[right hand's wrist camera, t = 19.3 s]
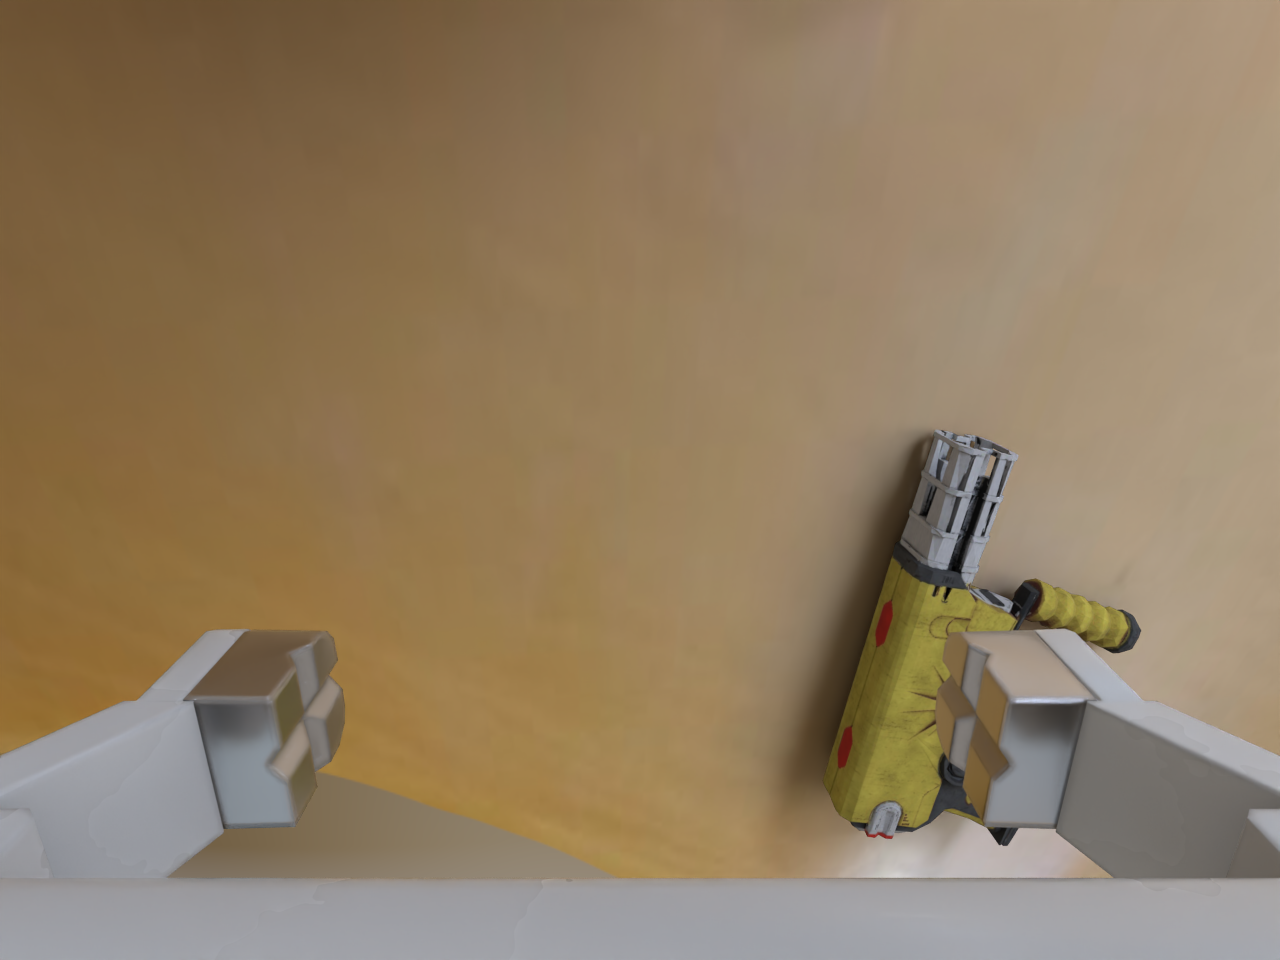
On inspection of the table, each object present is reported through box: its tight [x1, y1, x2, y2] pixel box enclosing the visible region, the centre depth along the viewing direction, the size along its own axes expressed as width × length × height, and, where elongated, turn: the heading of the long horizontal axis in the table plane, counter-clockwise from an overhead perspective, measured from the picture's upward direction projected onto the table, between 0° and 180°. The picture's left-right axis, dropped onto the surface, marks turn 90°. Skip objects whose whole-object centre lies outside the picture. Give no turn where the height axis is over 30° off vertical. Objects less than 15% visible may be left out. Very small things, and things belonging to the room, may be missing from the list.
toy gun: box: [823, 430, 1141, 846], centre depth 45 cm, size 5×24×15 cm
